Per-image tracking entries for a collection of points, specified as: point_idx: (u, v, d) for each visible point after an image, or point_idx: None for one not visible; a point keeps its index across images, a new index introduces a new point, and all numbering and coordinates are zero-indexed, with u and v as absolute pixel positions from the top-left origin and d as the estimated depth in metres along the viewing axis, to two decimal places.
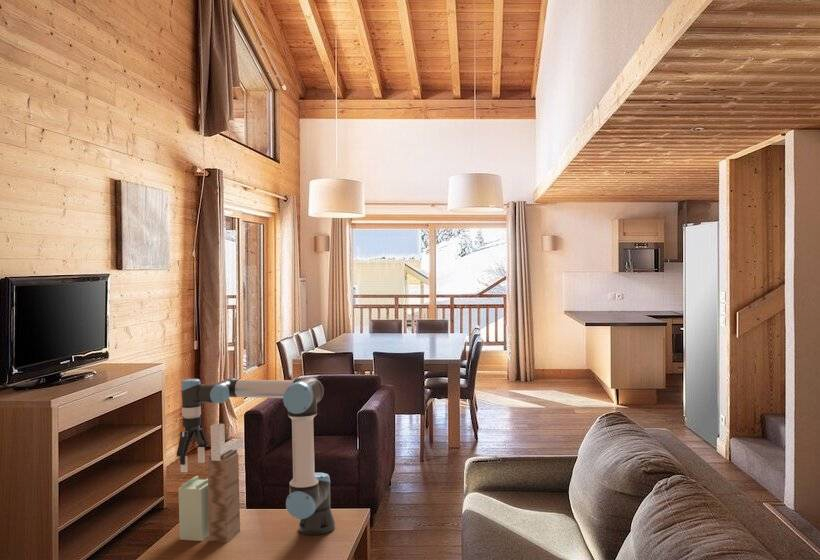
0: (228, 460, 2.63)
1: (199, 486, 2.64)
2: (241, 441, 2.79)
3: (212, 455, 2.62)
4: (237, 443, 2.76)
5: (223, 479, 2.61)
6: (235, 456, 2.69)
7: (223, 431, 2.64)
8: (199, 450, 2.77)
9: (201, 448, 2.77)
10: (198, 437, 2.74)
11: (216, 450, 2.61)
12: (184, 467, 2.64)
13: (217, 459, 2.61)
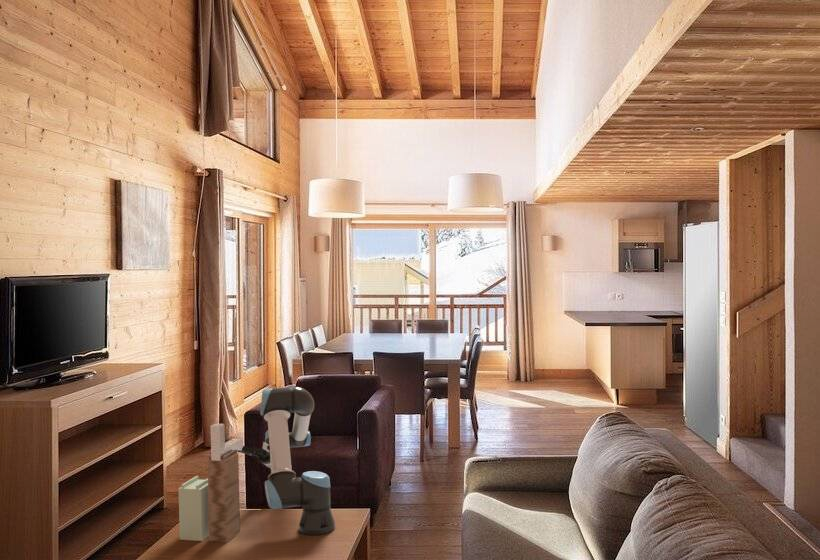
0: (228, 460, 2.63)
1: (199, 486, 2.64)
2: (241, 441, 2.79)
3: (212, 455, 2.62)
4: (237, 443, 2.76)
5: (223, 479, 2.61)
6: (235, 456, 2.69)
7: (223, 431, 2.64)
8: None
9: None
10: None
11: (216, 450, 2.61)
12: None
13: (217, 459, 2.61)
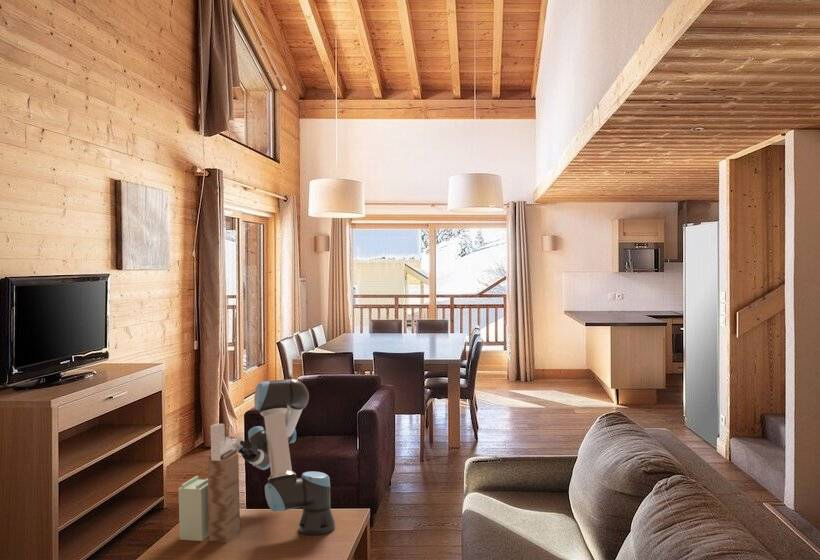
0: (228, 460, 2.63)
1: (199, 486, 2.64)
2: None
3: (212, 455, 2.62)
4: None
5: (223, 479, 2.61)
6: (235, 456, 2.69)
7: (223, 431, 2.64)
8: None
9: None
10: None
11: (216, 450, 2.61)
12: None
13: (217, 459, 2.61)
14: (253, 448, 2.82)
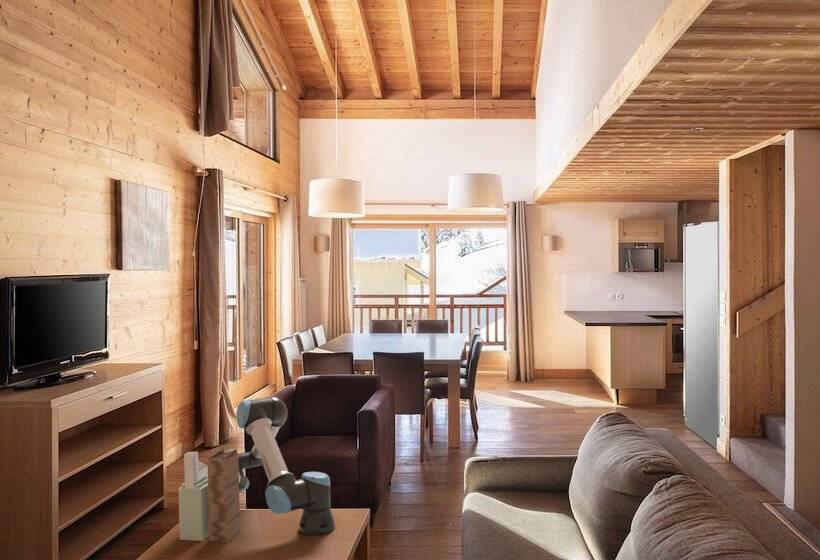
0: (228, 460, 2.63)
1: (199, 486, 2.64)
2: None
3: (186, 483, 2.64)
4: None
5: (223, 479, 2.61)
6: (235, 456, 2.69)
7: (197, 459, 2.67)
8: None
9: None
10: None
11: (190, 478, 2.64)
12: None
13: (191, 487, 2.64)
14: None
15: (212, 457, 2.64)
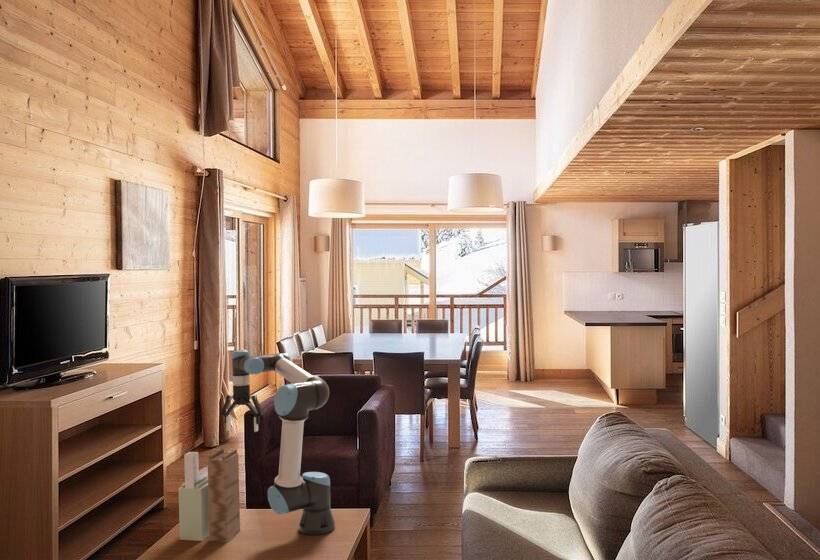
0: (228, 460, 2.63)
1: (199, 486, 2.64)
2: None
3: (186, 483, 2.64)
4: None
5: (223, 479, 2.61)
6: (235, 456, 2.69)
7: (197, 459, 2.67)
8: None
9: None
10: None
11: (190, 478, 2.64)
12: None
13: (191, 487, 2.64)
14: (260, 407, 2.94)
15: (212, 457, 2.64)
